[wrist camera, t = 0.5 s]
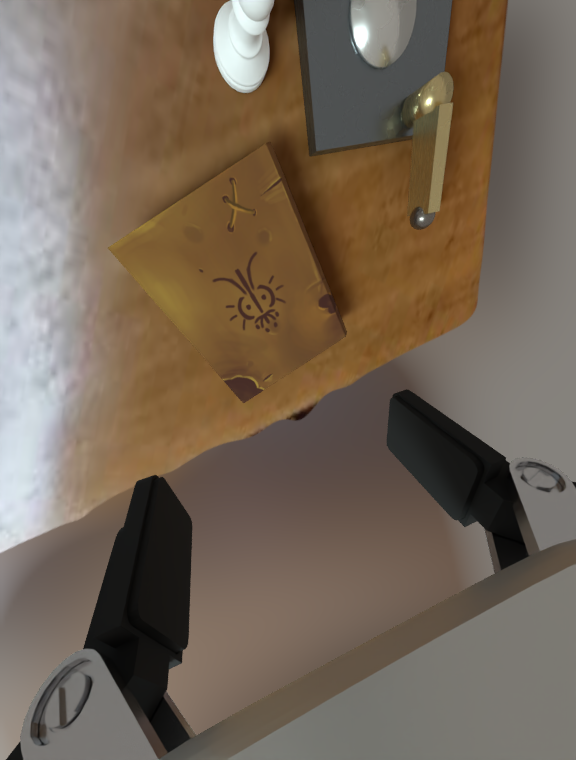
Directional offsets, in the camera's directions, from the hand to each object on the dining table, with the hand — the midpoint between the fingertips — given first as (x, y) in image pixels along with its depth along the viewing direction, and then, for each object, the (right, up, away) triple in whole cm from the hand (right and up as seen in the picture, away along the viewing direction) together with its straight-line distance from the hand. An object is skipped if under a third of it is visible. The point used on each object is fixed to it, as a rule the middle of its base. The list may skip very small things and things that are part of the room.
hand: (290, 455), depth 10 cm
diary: (-6, +15, +24) cm, 29 cm away
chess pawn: (-5, +34, +14) cm, 37 cm away
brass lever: (+15, +29, +20) cm, 39 cm away
